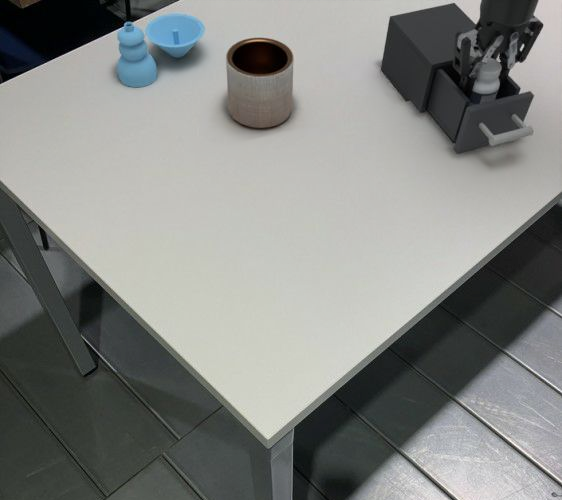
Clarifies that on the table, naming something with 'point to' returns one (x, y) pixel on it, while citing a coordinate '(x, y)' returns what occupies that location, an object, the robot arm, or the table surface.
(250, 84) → the planter
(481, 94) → the pill bottle
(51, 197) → the table surface
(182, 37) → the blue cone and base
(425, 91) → the small drawer cabinet
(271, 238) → the table surface
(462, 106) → the pull-out drawer
